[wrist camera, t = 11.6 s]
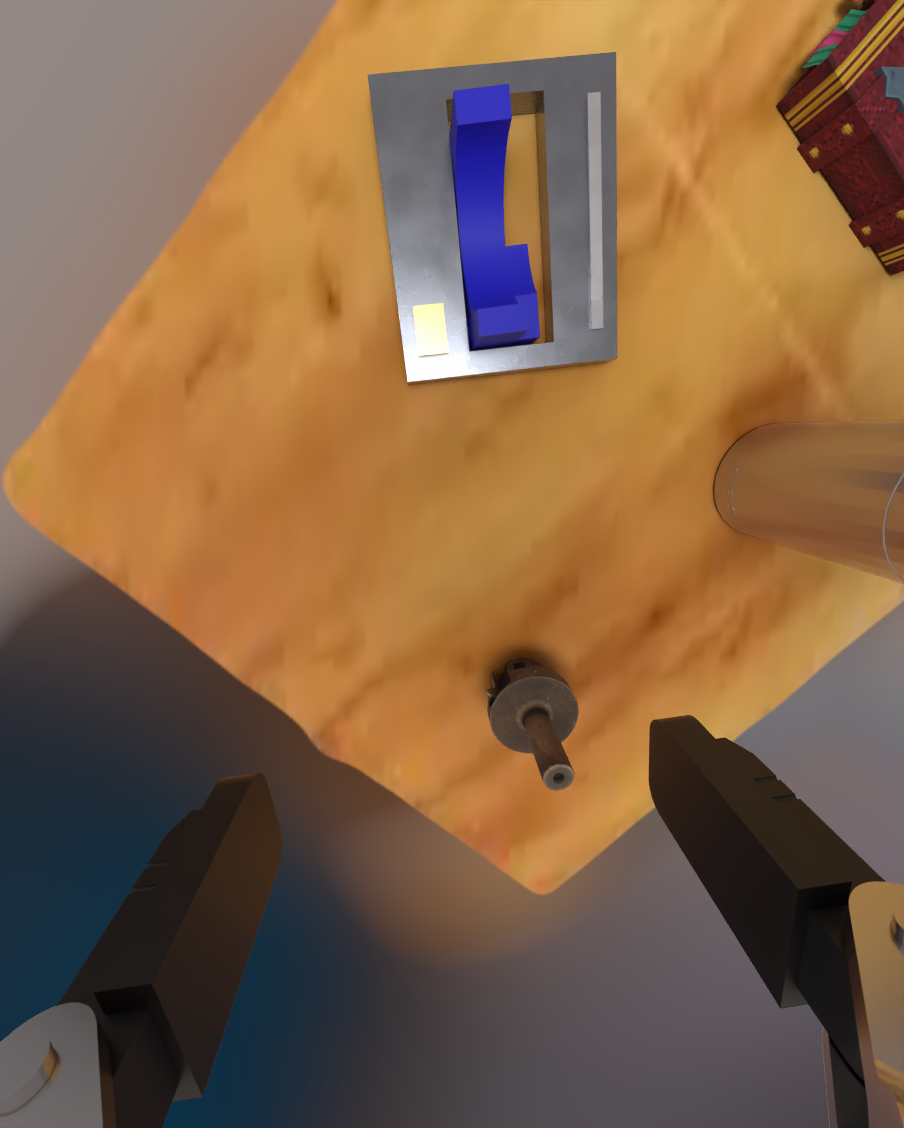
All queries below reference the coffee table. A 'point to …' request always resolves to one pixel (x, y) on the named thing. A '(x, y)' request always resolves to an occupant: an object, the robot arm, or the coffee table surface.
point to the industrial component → (534, 717)
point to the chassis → (567, 211)
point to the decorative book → (859, 122)
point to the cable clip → (488, 224)
